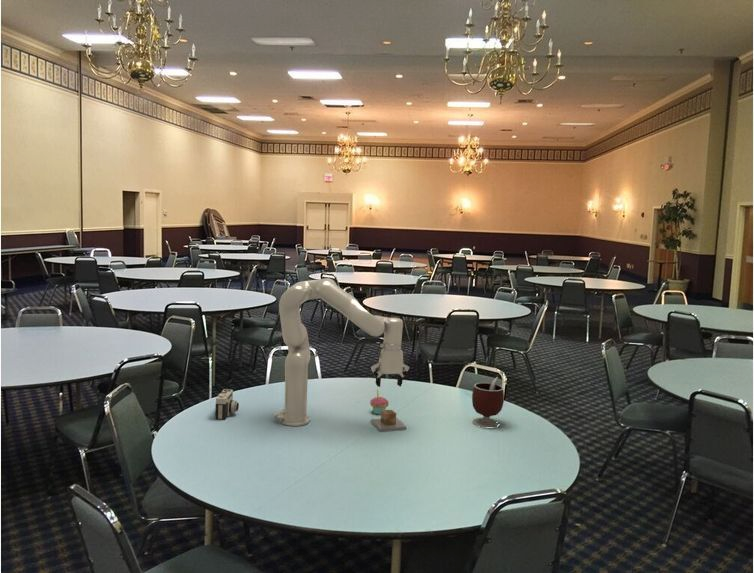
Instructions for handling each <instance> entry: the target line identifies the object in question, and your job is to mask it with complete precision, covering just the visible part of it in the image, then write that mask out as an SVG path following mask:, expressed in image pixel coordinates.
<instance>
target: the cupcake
mask: <svg viewBox="0 0 754 573" xmlns="http://www.w3.org/2000/svg"><path fill="white" fill-rule="evenodd" d="M378 388H379V387H377V388H376V397H373V398H372V399H370V403H369V404H370V406H371V407H372V411H373V414H376V415H381V410H387V407H389V401H388V400H387V399H386V398H385V397H382V396H379V395H380V394H379V389H378Z"/></svg>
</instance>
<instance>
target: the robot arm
mask: <svg viewBox="0 0 754 573" xmlns="http://www.w3.org/2000/svg"><path fill="white" fill-rule="evenodd" d="M317 299H321V300H322V301H323V302H324V303H327V304H328V305H330V306H331V307H332V308H333V309H335V310H336V311H337V312H339V313H340V314H342V315H343V316H345V318H347V319H348V320H349V321H351V322H352V323H353V324H354V325H355V326H357V327H358V328H360V330H362V331H364V332H365V333H367V335H370V336H372V337H380V336H382V335H383V342H382V343H380V345H379V346H380V348H382V349H381V351H380V353H379V359H378V362H377V363H376V364H373V365H371V366H370V369H371V371H372V372H371V373H373V375H374V376H375V385H376V386H377V388H380V387H381V382H382V378H381V376H383V375H397V380H396V381H397V382H396V386H397V385H398V386H399V387H402V384H403V378H405V375H406V374H408V371H409V369H410V366H408V365H407V364H405V363H404V352H403V350H402V339H403V338H402V337H403V326H404V321H403V319H401V318H399V317H386V316H382V315H377V314H376V315H374V314H372V313H370V312H369V311H368V310H366V309H365V308H364V307H363V306H362V304H360V302H359V301H358V299H357V298H355V297H354V296H353V295H351V293H349V292H347V291H346V290H344V289H343V288H341V287H340V286H338V285H337V282H336V281H335V280H333V279H332V278H327V277H326V278H325V277H324V278H319V279H311V280H302V281H299V282H295V283H294V284H293V285H292V286H290V287H289V288H287V289H286V290H285V291H284V292H283V294H281V297H280V299H279V302H278V304H279V305H278V310H279V320H280V326H281V332H282V339H283V343H284V344H285V345H287V350H288V354H286V357H285V360H284V377H285V378H284V406H283V407H284V408H283V410H282V411H280V412H274V413H272V414H273V415H272V417H273V418H274V419H279V421H280V423H281V424H283V425H285V426H291V427H299V426H305V425H308V424H310V422H311V418H310V416H308V415H307V409H308V407H307V405H308V404H307V403H308V377H309V376H308V374H309V372H308V369H309V368H308V367H309V363H310V361H311V348H310V341H309V336H308V330H307V328H306V326H305V325H304V324H303V323H302V318H301V312H300V306H301V305H302V304H303V303H305V302H306V301H309V300H317ZM376 369H377V370H378V371H376Z"/></svg>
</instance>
